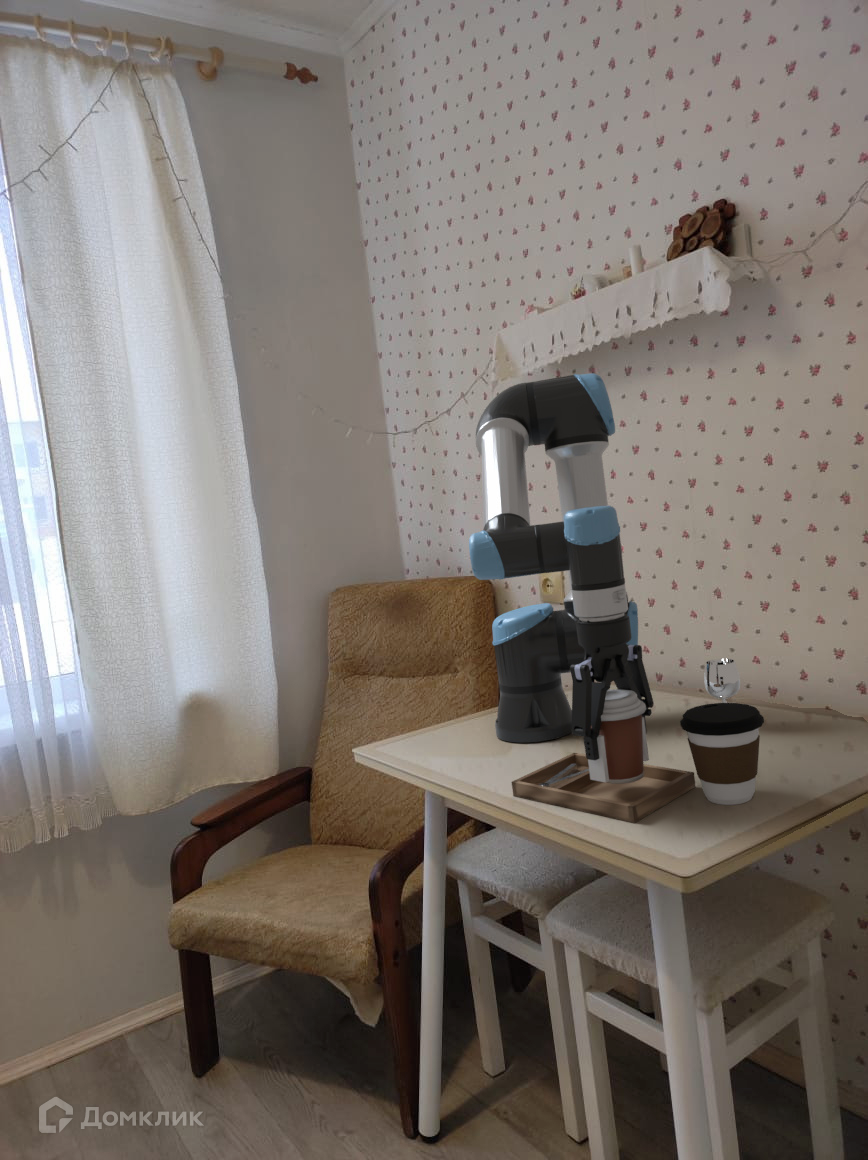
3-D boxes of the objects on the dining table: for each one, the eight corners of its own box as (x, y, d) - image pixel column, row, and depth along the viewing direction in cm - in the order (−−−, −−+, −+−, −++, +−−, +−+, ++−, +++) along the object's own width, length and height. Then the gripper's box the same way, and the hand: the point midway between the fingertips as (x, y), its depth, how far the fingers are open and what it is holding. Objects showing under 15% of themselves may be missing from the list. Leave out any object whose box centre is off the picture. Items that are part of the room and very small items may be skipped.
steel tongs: (553, 796, 131) (553, 789, 131) (528, 790, 135) (527, 783, 135) (598, 773, 138) (597, 766, 138) (573, 769, 142) (572, 762, 142)
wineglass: (740, 724, 155) (733, 656, 154) (748, 733, 149) (741, 663, 148) (706, 727, 155) (699, 660, 154) (713, 737, 150) (706, 667, 149)
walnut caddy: (513, 795, 135) (511, 781, 135) (575, 765, 145) (574, 752, 145) (634, 823, 119) (632, 807, 118) (695, 787, 128) (693, 772, 128)
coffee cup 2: (677, 790, 128) (668, 708, 127) (751, 778, 129) (742, 697, 128) (705, 817, 117) (696, 728, 116) (786, 804, 118) (777, 715, 117)
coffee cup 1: (603, 763, 135) (594, 686, 134) (662, 767, 130) (653, 687, 129) (579, 785, 127) (569, 703, 126) (640, 789, 122) (630, 704, 121)
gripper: (574, 632, 116) (594, 798, 119) (667, 602, 131) (684, 750, 133) (531, 631, 122) (551, 789, 124) (625, 601, 136) (642, 744, 139)
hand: (620, 769), depth 129 cm, fingers closed on coffee cup 1, 9 cm apart
